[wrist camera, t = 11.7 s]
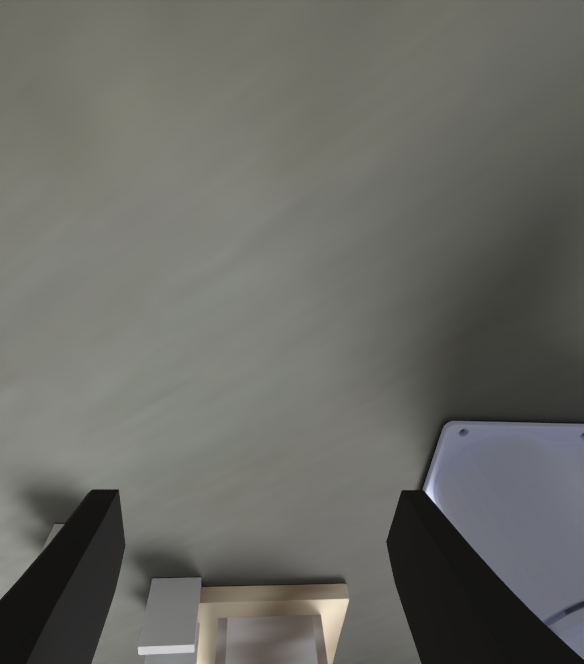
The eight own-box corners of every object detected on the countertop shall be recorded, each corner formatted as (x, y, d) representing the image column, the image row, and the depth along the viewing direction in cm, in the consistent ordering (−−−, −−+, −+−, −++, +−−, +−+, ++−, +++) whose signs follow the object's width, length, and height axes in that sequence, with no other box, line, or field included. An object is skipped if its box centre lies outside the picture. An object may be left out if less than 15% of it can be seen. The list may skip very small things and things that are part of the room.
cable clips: (201, 523, 24) (193, 588, 21) (201, 614, 28) (194, 682, 25) (54, 523, 23) (21, 592, 20) (75, 618, 27) (51, 689, 24)
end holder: (346, 583, 28) (359, 651, 25) (326, 663, 33) (335, 730, 29) (193, 587, 27) (184, 659, 23) (194, 669, 31) (187, 740, 28)
